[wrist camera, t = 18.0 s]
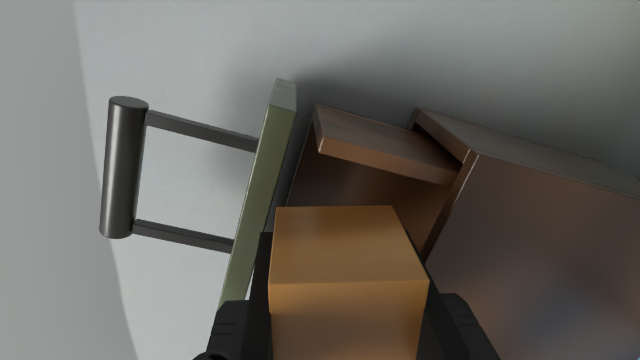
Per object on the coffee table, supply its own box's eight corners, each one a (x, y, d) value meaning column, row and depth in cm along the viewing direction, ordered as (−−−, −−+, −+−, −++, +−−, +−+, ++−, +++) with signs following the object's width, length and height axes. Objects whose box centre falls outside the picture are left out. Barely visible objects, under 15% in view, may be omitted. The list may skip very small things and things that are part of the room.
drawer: (130, 220, 24) (72, 293, 18) (150, 40, 19) (83, 51, 13) (416, 281, 27) (452, 360, 21) (487, 139, 23) (558, 185, 17)
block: (276, 206, 16) (267, 284, 11) (392, 204, 16) (430, 280, 11) (279, 298, 18) (273, 396, 13) (382, 295, 18) (411, 390, 13)
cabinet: (350, 267, 27) (372, 368, 20) (415, 105, 23) (479, 153, 15) (519, 303, 30) (598, 405, 22) (609, 164, 25) (752, 231, 17)
